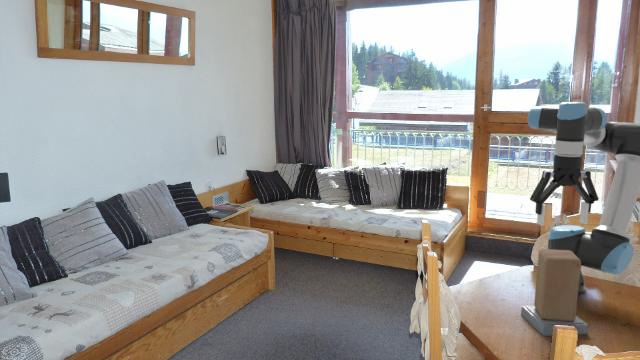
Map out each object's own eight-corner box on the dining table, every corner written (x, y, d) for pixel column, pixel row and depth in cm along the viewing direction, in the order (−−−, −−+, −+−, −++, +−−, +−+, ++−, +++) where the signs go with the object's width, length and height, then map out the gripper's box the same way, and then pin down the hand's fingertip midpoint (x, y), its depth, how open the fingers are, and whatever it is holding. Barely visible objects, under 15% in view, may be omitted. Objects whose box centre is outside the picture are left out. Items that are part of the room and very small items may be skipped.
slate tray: (561, 313, 163) (562, 303, 163) (587, 333, 150) (588, 324, 149) (520, 314, 162) (521, 305, 162) (543, 335, 149) (543, 325, 148)
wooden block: (576, 323, 150) (582, 260, 146) (541, 320, 151) (546, 258, 148) (566, 308, 159) (571, 249, 155) (533, 306, 161) (538, 247, 157)
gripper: (600, 152, 151) (593, 219, 155) (521, 153, 149) (516, 221, 153) (616, 156, 143) (608, 226, 147) (534, 157, 141) (528, 228, 145)
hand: (561, 224), depth 150 cm, fingers open, 13 cm apart
